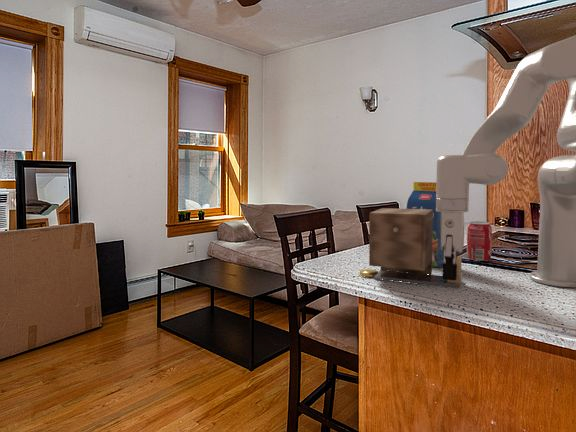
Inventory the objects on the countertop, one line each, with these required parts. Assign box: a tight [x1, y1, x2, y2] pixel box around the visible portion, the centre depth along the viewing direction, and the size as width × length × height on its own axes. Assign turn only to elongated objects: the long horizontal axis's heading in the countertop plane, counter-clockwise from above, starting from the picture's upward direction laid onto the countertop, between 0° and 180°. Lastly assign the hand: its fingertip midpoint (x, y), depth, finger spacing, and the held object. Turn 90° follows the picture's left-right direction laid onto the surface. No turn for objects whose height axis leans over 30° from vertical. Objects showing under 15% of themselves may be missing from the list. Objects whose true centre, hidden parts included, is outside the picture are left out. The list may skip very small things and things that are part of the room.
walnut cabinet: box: [368, 207, 433, 275], centre depth 108 cm, size 14×14×18 cm
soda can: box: [466, 220, 493, 262], centre depth 126 cm, size 7×7×12 cm
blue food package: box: [406, 181, 444, 269], centre depth 123 cm, size 6×12×25 cm, turn 31°
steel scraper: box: [373, 255, 463, 289], centre depth 105 cm, size 21×7×7 cm, turn 63°
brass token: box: [359, 268, 379, 278], centre depth 112 cm, size 5×5×1 cm
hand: (450, 277), depth 102 cm, fingers closed on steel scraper, 3 cm apart
